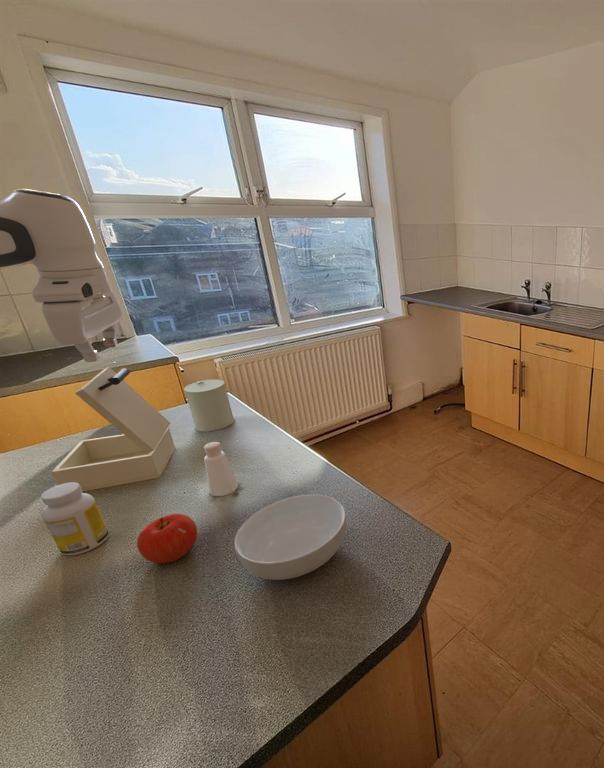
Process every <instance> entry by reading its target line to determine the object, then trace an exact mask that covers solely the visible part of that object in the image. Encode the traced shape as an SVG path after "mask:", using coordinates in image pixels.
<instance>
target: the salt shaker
mask: <svg viewBox="0 0 604 768" xmlns="http://www.w3.org/2000/svg"><path fill="white" fill-rule="evenodd" d="M203 450H204V452H205V456H204V457H203V461H204V468H205V474H206V480H207V486H208V492H209V493H210V495H211V496H212V497H225V496H227V495H229V494H233V493H234V492H235V491H236V490H237V488H239V487H240V485H239V482H238V481H237V478H236V475H235V473H234V471H233V469H232V466H231V464H230V462H229V459H228V457H227V454H226V453H225V451H223V450H222V448H221V443H220V442H218V441H212V442H208V443H206V444H205V445H204V446H203Z"/></svg>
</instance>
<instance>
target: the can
mask: <svg viewBox="0 0 604 768" xmlns="http://www.w3.org/2000/svg"><path fill="white" fill-rule="evenodd" d="M183 391H184V395H185V397H186V401H187V403H188V407H189V409H190V414H191V417H192V420H193V424H194V429H195V430H196V431H198V432H202V433H203V432H204V433H205V432H214V431H218V430H222V429H225V428H227V427H229V426H231V425H232V424H234V422H235V417H234V414H233V410H232V408H231V403H230V400H229V395H228V392H227V391H228V390H227V388H226V382H225V380H223V379H219V378H209V379H203V380H198V381H195V382H192V383H189V384H187V385H186V386H184V387H183Z"/></svg>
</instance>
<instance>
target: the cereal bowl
mask: <svg viewBox="0 0 604 768" xmlns="http://www.w3.org/2000/svg"><path fill="white" fill-rule="evenodd" d="M347 522H348V521H347V514H346V509H345V507H344V506H343V505H342V503H341V502H339V501H338V500H337V499H335V498H333V497H330V496H328V495H323V494H302V495H295V496H290V497H286V498H283V499H281V500H277V501H275V502H273V503H271V504H269V505H266V506H265V507H263V508H260V509H259V510H258V511H256V512H255V513H254V514H252V515H251V516H250V517H248V519H246V521H245V522H243V524H242V525H241V526H240V528H239V529H238V530H237V532H236V535H235V539H234V550H235V553H236V556H237V559H238V560H239V563H240V564H241V566H242V567H243V568H244V569H245V570H246V571H247V572H248V573H250V574H251V575H254V576H255V577H258V578H261V579H265V580H271V581H283V580H290V579H295V578H299V577H302V576H304V575H307V574H310V573H312V572H313V571H315V570H317V569H319V568H320V567H321V566H323V565H324V564H326V563H327V562H328V561H329V560H331V558H333V557H334V555H336V553H337V551H338V550H339V548H340V547H341V545H342V544H343V542H344V539H345V536H346V533H347V532H346V531H347V526H348V525H347Z"/></svg>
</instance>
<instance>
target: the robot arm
mask: <svg viewBox="0 0 604 768" xmlns="http://www.w3.org/2000/svg"><path fill="white" fill-rule="evenodd" d="M27 265H34V266H35V267H36V269H37V271H38V274H39V278H38V281H37V284H36V285H35V287H33V289H32V291H31V295H32V297H33V299H34V301H35V302H36V303H42V304H41V311H42V314H43V317H44V319H45V322H46V324H47V326H48V328H49V331H50V333H51V335H52V337H53V338H54V340H56V342H57V343H58V344H60V345H62V346H67V345H69V346H70V345H74V347H75V349H76V350H77V351H78V352H79V353H80V354H81V355H82V358H83V360H84V361H85V363H95V362H97V361H98V360H99V359H100V355H99V352H98V350H95V348H94V347H93V345H92V344H93V341H92V338H94V337H96V336H98V335H99V334H100V333H101V334H102V337H103V339H102V343H103V346H104V347H105V348H106V349H111V348H115V347H117V346H118V345H119V341H118V340H117V328H116V324H117V323H119V322H120V321H121V320H122V319H123V311H122V309H121V307H120V304H119V302H118V300H117V297H116V295H115V293H114V291H113V288H112V287H111V285H110V282H109V279H108V276H107V273H106V270H105V267H104V265H103V263H102V261H101V260H100V258H99V256H98V255H97V251H96V240H95V238H94V235H93V232H92V230H91V227H90V225H89V222H88V220H87V218H86V216H85V214H84V212H83V209H82V208H81V207H80V205H79V204H78V203H77V201H76V200H75V199H72V198H71V197H69V196H67V195H65V194H62V193H58V192H52V191H46V190H35V189H31V188H18V189H14V190H12V191H11V192H10V193H9V194H8V195H7V196H6V197H3V198H2V199H0V270H5V269H9V268H10V269H11V268H14V267H20V266H27Z"/></svg>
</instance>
